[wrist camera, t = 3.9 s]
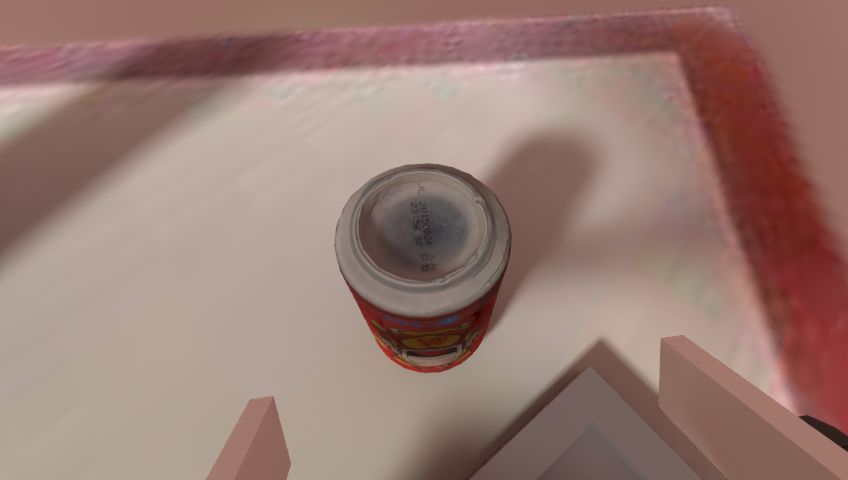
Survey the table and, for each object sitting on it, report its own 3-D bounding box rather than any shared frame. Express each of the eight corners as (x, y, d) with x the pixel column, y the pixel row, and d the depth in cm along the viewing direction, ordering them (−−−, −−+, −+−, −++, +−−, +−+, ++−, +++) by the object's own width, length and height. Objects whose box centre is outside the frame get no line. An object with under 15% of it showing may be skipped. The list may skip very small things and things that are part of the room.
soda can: (386, 393, 24) (342, 331, 13) (367, 286, 27) (319, 169, 17) (500, 364, 25) (545, 282, 14) (467, 262, 28) (482, 135, 17)
